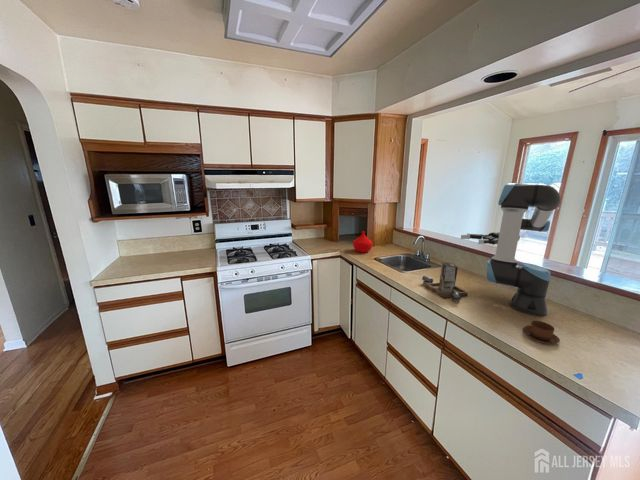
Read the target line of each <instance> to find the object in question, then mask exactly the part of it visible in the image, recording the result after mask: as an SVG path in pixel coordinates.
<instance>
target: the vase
mask: <svg viewBox="0 0 640 480" xmlns="http://www.w3.org/2000/svg"><path fill="white" fill-rule="evenodd" d="M373 244H374V243H373V240H371V239H370V238H369V237H368V236H366V231H365V230H363V231H361V234H360V236H358V237H357V238H355V239H354V240H353V242H352V246H353V248H354V250H355V251H356V252H357V253H363V254H364V253H369V252H370V251H371V249H372V248H373V246H374V245H373Z"/></svg>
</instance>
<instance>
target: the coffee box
mask: <svg viewBox="0 0 640 480" xmlns="http://www.w3.org/2000/svg"><path fill="white" fill-rule="evenodd" d="M458 269H459V267H458V266H457V265H456V264H455V263H453V262H441V269H440V275H439V282H438V283H439V288H440V289H441V291H442V292H444V293H451V291H454V288H455V286H456V281H457V276H458Z"/></svg>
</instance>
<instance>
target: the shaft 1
mask: <svg viewBox="0 0 640 480" xmlns="http://www.w3.org/2000/svg"><path fill="white" fill-rule="evenodd" d="M421 280H422V285H425V286H426V284H429V283H434V278H431V277H428V276H426V275H422V277H421Z"/></svg>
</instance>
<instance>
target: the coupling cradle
mask: <svg viewBox="0 0 640 480" xmlns="http://www.w3.org/2000/svg"><path fill="white" fill-rule="evenodd" d="M425 288H426V289H427V290H429V291H431V292H432V293H434V294H436V295H438V296H439V297H441V298H442V299H444V300H447V299H451V298H452V297H453V296H452V295H451V293H444V292H442V291H441V289H440V288H439V282H433V283H429V284H426V285H425ZM454 291H456V292H457V293H458V294H459V295H460V296H461V298H464V297H469V292H468V291H467V290H464V289H463V288H460V287H459V286H458V285H455V288H454Z"/></svg>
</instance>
